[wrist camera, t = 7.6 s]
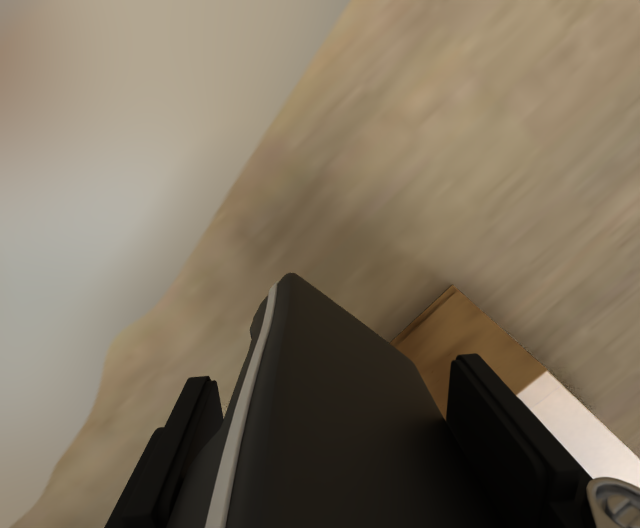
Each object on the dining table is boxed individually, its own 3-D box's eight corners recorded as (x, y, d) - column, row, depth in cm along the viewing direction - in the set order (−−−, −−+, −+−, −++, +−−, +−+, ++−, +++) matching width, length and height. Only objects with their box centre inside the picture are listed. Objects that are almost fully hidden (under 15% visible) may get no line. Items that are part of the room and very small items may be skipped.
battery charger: (224, 334, 13) (-200, 1326, 2) (285, 260, 12) (144, 1237, 1) (357, 420, 14) (529, 1211, 4) (418, 361, 14) (866, 1140, 3)
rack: (504, 478, 36) (594, 622, 25) (360, 369, 30) (395, 496, 19) (590, 415, 33) (730, 544, 22) (452, 284, 27) (551, 373, 17)
